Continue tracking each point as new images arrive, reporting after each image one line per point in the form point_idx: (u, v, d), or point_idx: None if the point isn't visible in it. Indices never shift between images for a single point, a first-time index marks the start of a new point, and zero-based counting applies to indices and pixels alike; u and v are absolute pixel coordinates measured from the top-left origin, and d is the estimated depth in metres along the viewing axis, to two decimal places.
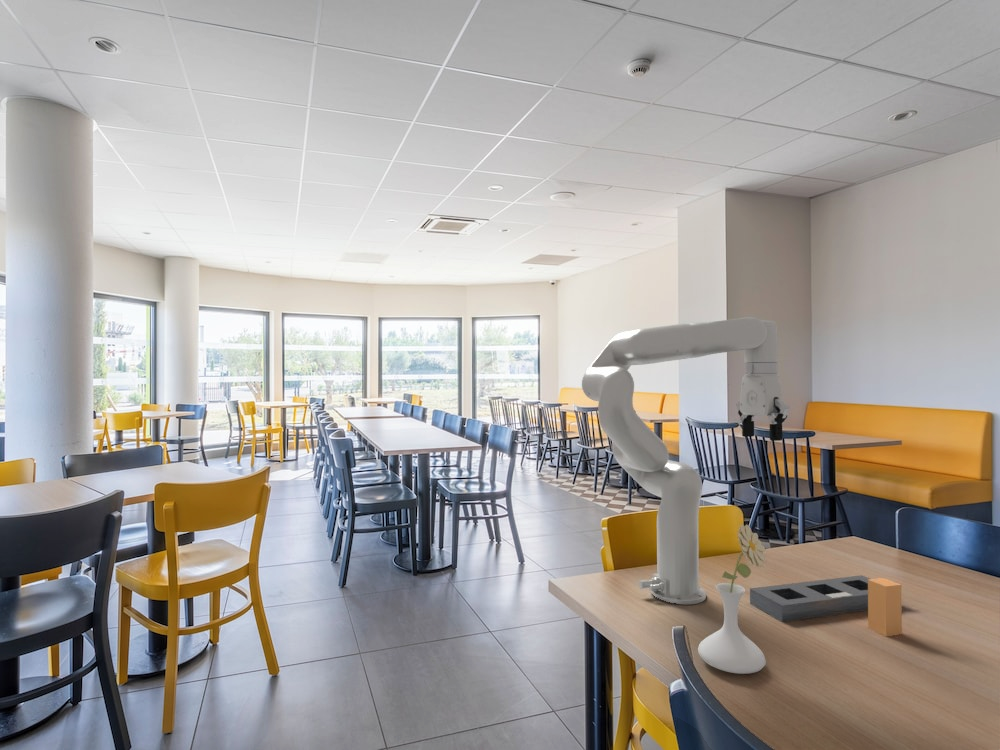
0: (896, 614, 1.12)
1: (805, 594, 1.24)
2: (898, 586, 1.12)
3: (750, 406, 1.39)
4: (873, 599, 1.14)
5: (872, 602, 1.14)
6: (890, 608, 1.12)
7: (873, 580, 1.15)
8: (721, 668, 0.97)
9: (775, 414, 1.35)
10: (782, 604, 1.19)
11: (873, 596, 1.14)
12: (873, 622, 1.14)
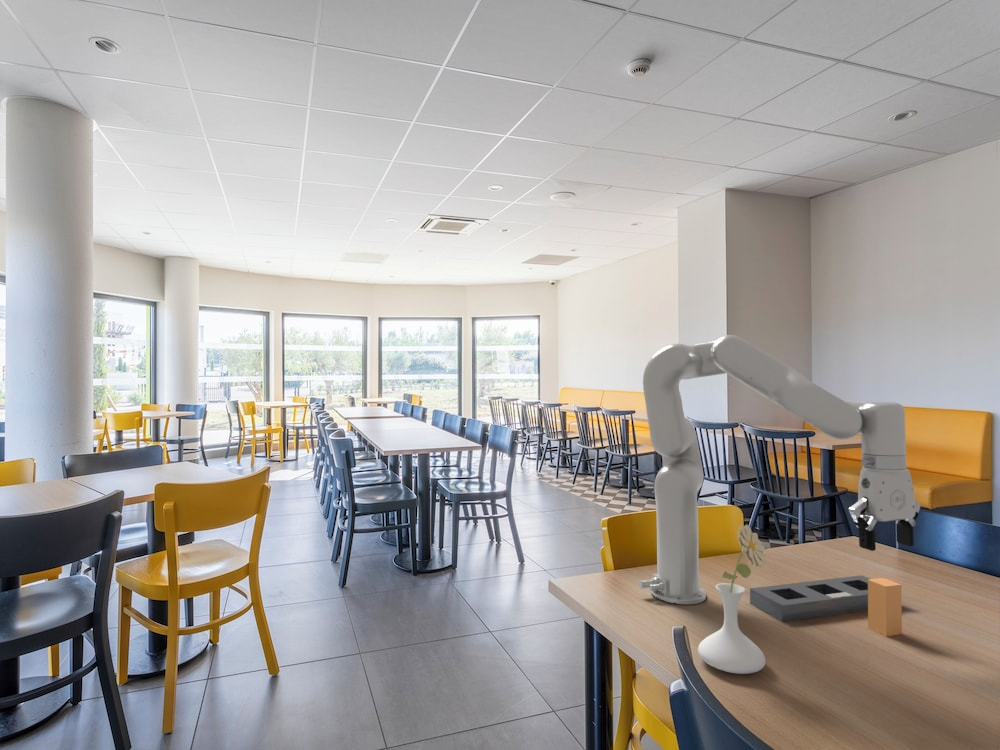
0: (896, 614, 1.12)
1: (805, 594, 1.24)
2: (898, 586, 1.12)
3: (896, 509, 1.11)
4: (873, 599, 1.14)
5: (872, 602, 1.14)
6: (890, 608, 1.12)
7: (873, 580, 1.15)
8: (721, 668, 0.97)
9: None
10: (782, 604, 1.19)
11: (873, 596, 1.14)
12: (873, 622, 1.14)
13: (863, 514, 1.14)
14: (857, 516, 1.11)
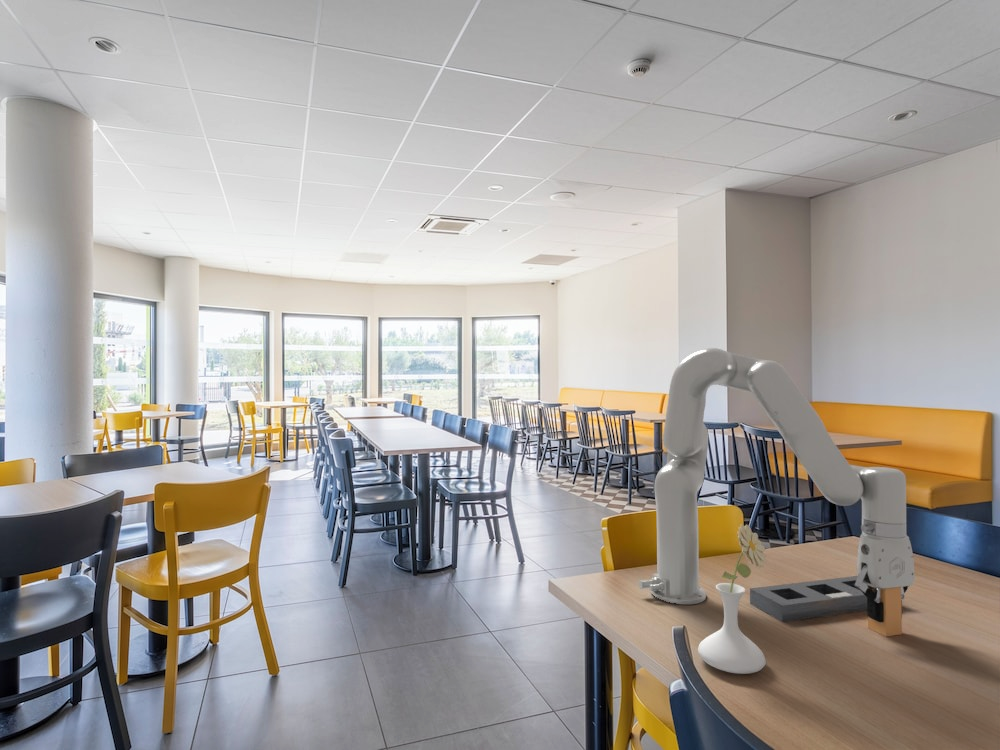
0: (896, 614, 1.12)
1: (805, 594, 1.24)
2: None
3: (895, 577, 1.11)
4: None
5: None
6: (890, 608, 1.12)
7: None
8: (721, 668, 0.97)
9: None
10: (782, 604, 1.19)
11: None
12: (873, 622, 1.14)
13: (867, 584, 1.14)
14: (866, 588, 1.12)
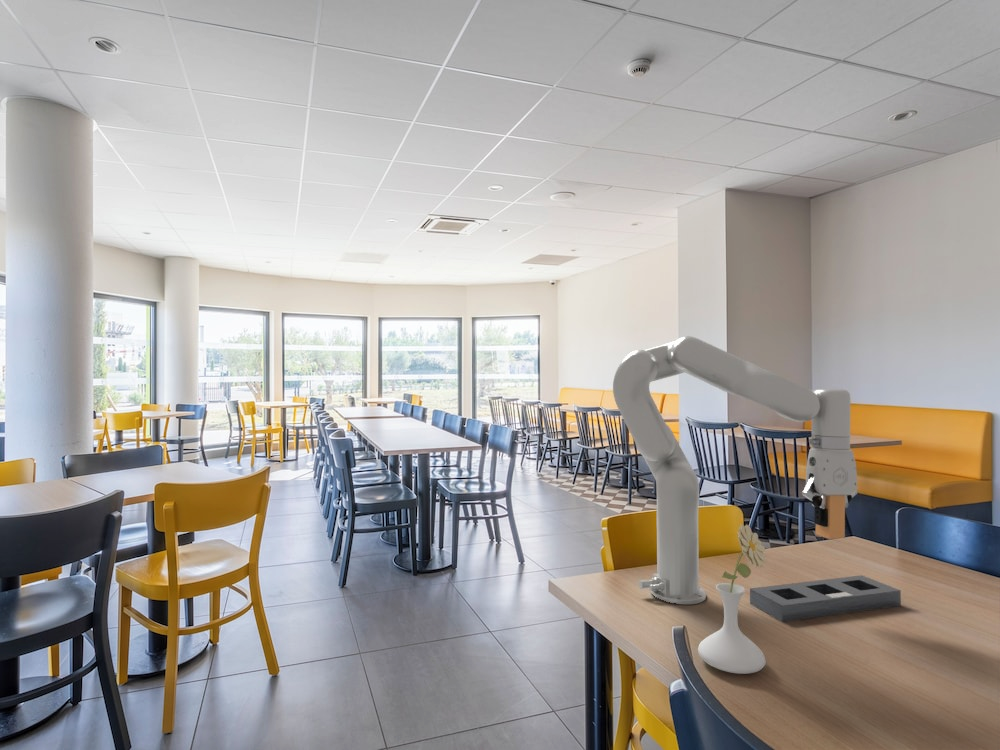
0: (839, 519, 1.24)
1: (805, 594, 1.24)
2: None
3: (838, 485, 1.23)
4: None
5: None
6: (834, 514, 1.23)
7: None
8: (721, 668, 0.97)
9: None
10: (782, 604, 1.19)
11: None
12: (819, 528, 1.26)
13: (814, 493, 1.26)
14: (812, 495, 1.24)
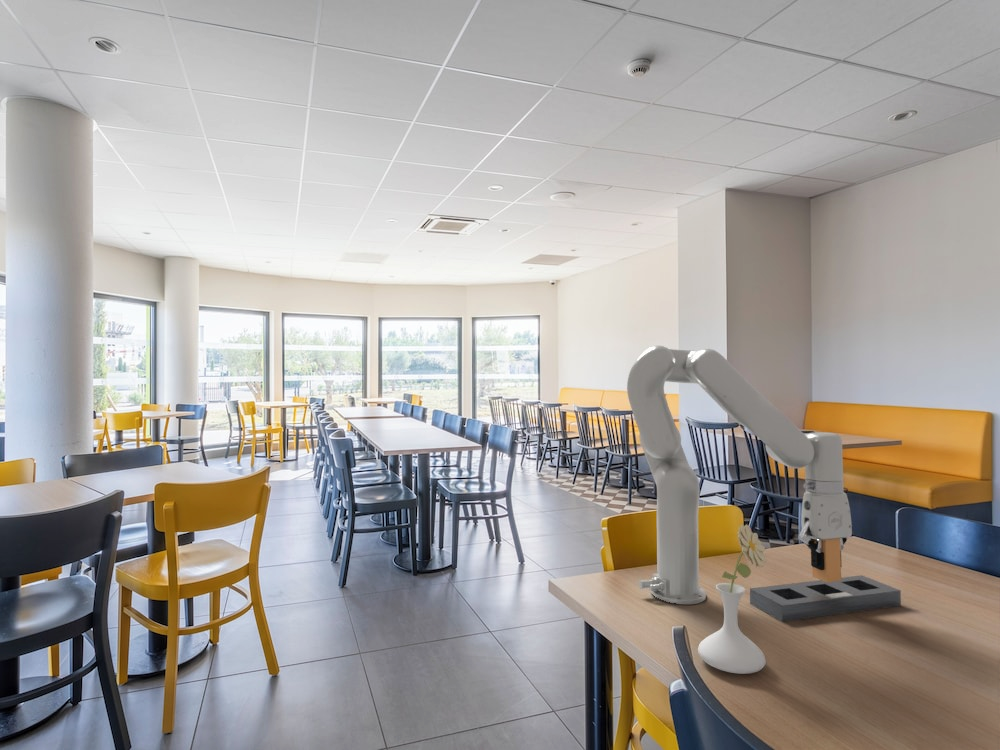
0: (835, 562, 1.25)
1: (805, 594, 1.24)
2: None
3: (833, 529, 1.24)
4: None
5: None
6: (830, 557, 1.25)
7: None
8: (721, 668, 0.97)
9: None
10: (782, 604, 1.19)
11: None
12: (816, 571, 1.27)
13: (810, 537, 1.27)
14: (808, 539, 1.25)
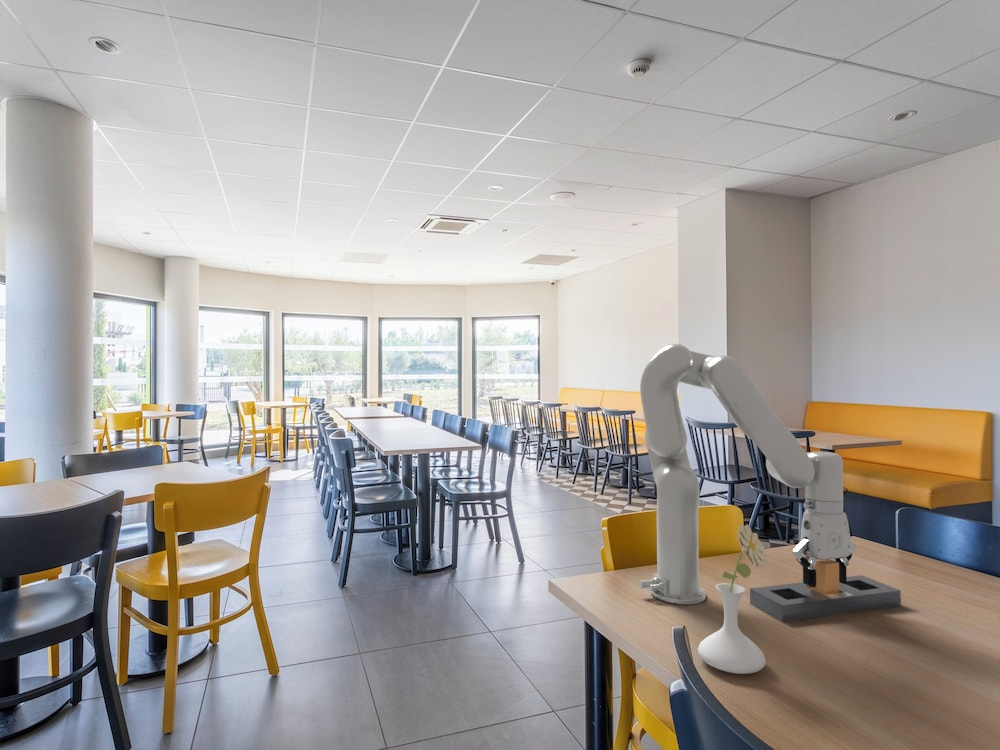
0: (834, 589, 1.25)
1: (805, 594, 1.24)
2: (836, 564, 1.26)
3: (832, 549, 1.24)
4: None
5: None
6: (829, 584, 1.25)
7: None
8: (721, 668, 0.97)
9: None
10: (782, 604, 1.19)
11: None
12: None
13: (805, 554, 1.27)
14: (800, 556, 1.25)
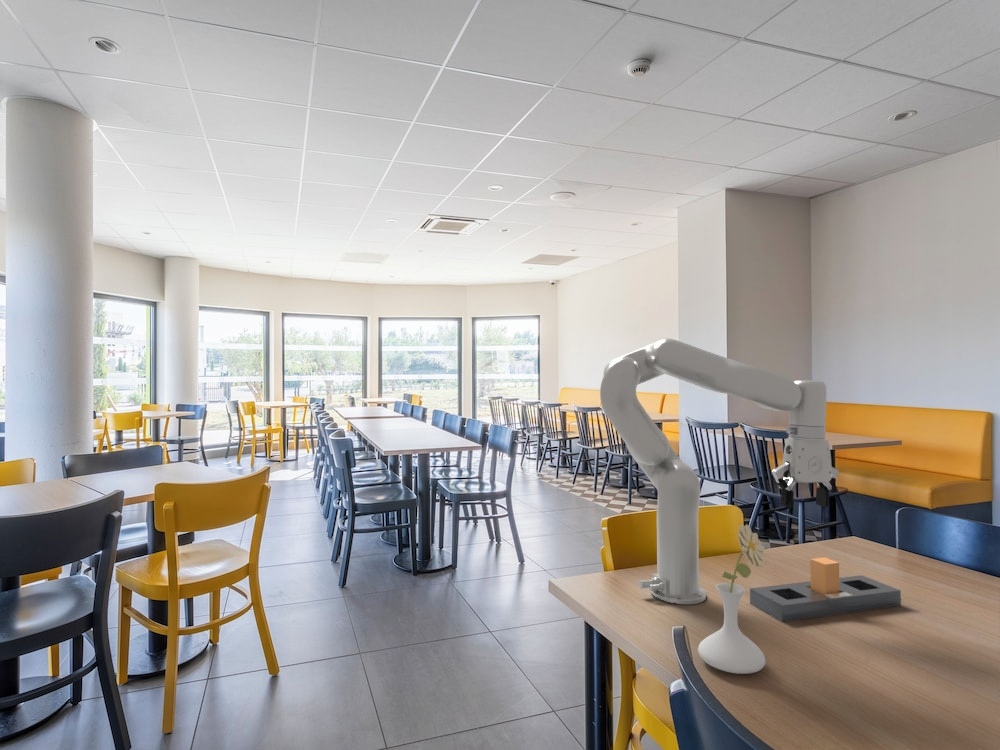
0: (834, 589, 1.25)
1: (805, 594, 1.24)
2: (836, 564, 1.26)
3: (813, 473, 1.27)
4: (815, 576, 1.27)
5: (814, 579, 1.28)
6: (829, 584, 1.25)
7: (815, 559, 1.28)
8: (721, 668, 0.97)
9: None
10: (782, 604, 1.19)
11: (815, 573, 1.27)
12: None
13: (785, 477, 1.30)
14: (778, 477, 1.28)
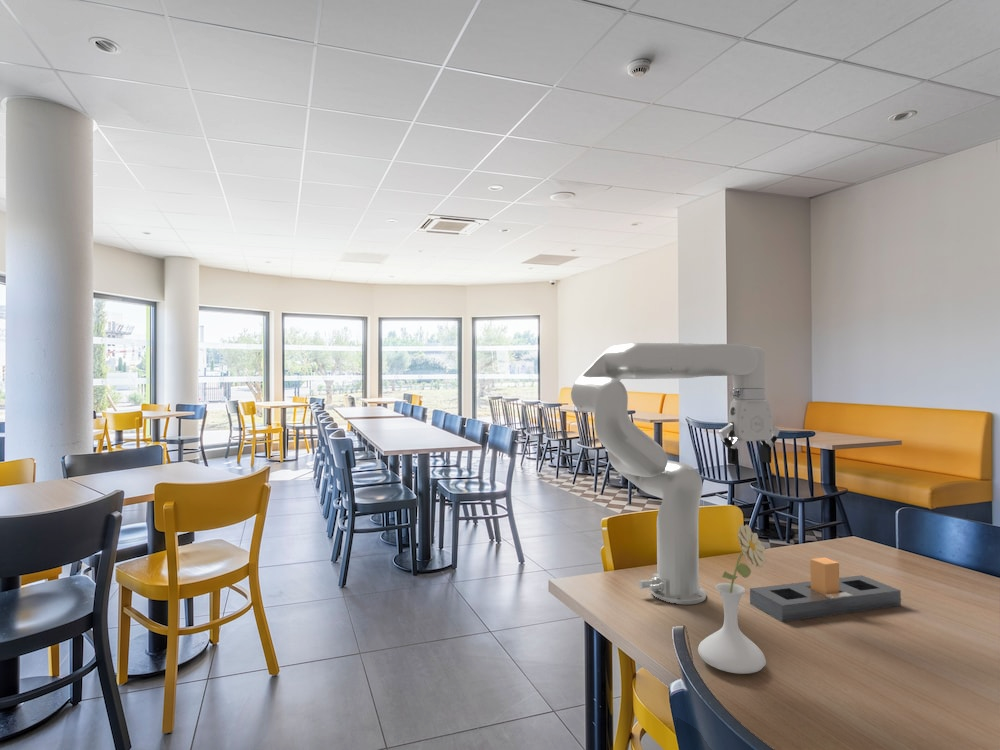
0: (834, 589, 1.25)
1: (805, 594, 1.24)
2: (836, 564, 1.26)
3: (755, 432, 1.38)
4: (815, 576, 1.27)
5: (814, 579, 1.28)
6: (829, 584, 1.25)
7: (815, 559, 1.28)
8: (721, 668, 0.97)
9: None
10: (782, 604, 1.19)
11: (815, 573, 1.27)
12: None
13: (731, 436, 1.41)
14: (724, 437, 1.39)
